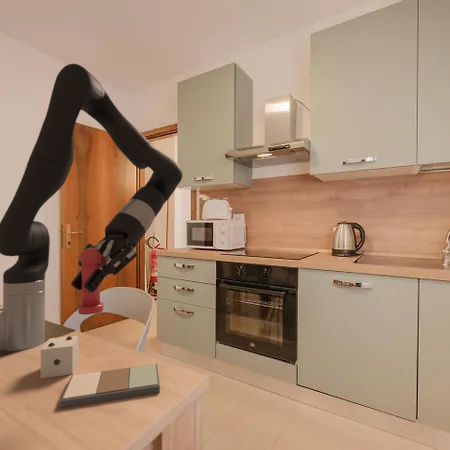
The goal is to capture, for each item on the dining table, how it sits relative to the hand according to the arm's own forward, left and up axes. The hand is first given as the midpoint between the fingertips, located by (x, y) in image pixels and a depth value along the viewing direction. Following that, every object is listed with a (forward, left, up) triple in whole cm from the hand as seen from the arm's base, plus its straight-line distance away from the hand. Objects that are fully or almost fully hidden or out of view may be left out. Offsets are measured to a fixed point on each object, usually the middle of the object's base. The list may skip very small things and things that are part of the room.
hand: (81, 288), depth 53 cm
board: (+6, +2, -20) cm, 21 cm away
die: (-6, +12, -20) cm, 24 cm away
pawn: (+1, +1, -5) cm, 5 cm away
